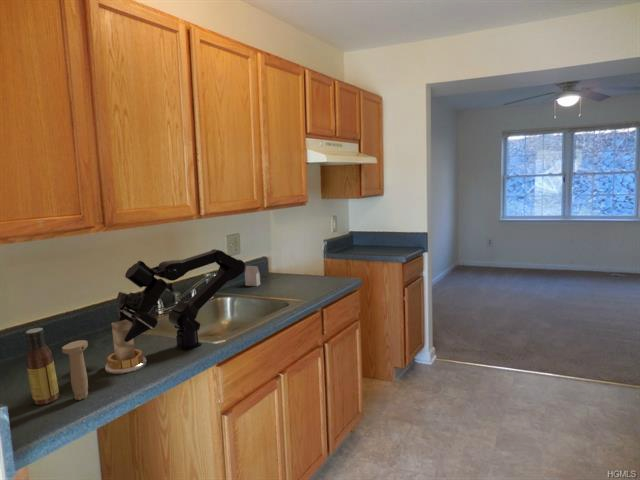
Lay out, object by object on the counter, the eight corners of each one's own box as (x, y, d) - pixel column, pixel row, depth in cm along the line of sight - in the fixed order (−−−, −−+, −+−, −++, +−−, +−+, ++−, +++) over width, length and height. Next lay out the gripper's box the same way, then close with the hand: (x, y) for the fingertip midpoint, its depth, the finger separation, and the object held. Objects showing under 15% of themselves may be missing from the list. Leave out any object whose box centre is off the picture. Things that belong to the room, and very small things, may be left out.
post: (130, 358, 151) (126, 319, 149) (135, 362, 148) (131, 322, 146) (115, 363, 148) (111, 323, 146) (121, 367, 145) (116, 326, 143)
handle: (64, 402, 125) (57, 348, 123) (83, 391, 132) (76, 339, 129) (79, 404, 124) (72, 349, 122) (97, 393, 130) (91, 340, 128)
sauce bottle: (53, 392, 132) (44, 324, 129) (63, 398, 128) (54, 328, 125) (27, 402, 127) (17, 330, 124) (37, 409, 123) (26, 335, 120)
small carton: (256, 286, 245) (255, 267, 244) (245, 285, 248) (244, 266, 246) (260, 284, 248) (259, 265, 247) (249, 283, 251) (247, 265, 250)
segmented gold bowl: (132, 355, 157) (131, 345, 156) (154, 362, 150) (153, 352, 149) (97, 368, 147) (96, 358, 146) (119, 377, 140) (118, 365, 139)
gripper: (119, 277, 154) (87, 318, 148) (143, 286, 141) (109, 331, 135) (145, 296, 161) (116, 336, 155) (171, 305, 147) (139, 350, 141)
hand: (119, 337), depth 146 cm, fingers open, 9 cm apart
